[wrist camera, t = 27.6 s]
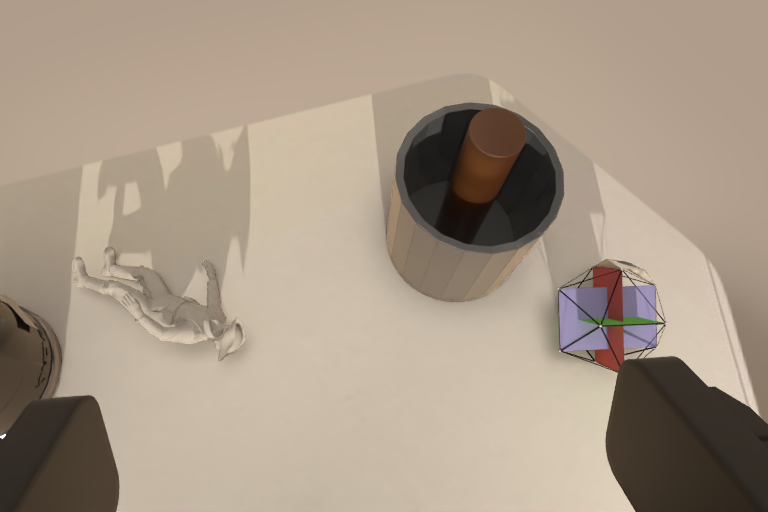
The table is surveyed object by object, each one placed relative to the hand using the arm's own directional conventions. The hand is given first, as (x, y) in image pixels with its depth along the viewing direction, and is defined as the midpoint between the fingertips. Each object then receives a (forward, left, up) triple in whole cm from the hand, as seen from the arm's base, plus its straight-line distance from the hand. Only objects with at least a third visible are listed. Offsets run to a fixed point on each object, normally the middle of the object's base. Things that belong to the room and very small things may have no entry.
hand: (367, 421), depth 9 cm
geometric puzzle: (+18, +5, -30) cm, 36 cm away
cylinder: (+10, +13, -29) cm, 34 cm away
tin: (+10, +14, -30) cm, 35 cm away
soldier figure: (-11, +13, -30) cm, 34 cm away
